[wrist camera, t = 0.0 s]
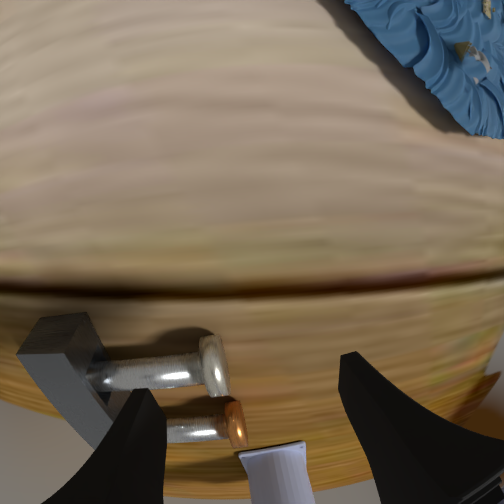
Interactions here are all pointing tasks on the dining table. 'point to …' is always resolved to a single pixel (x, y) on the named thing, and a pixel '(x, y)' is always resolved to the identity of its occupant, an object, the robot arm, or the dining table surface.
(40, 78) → the dining table surface
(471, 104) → the decorative plate
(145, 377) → the pin
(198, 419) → the pin
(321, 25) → the dining table surface
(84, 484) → the robot arm
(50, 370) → the block
